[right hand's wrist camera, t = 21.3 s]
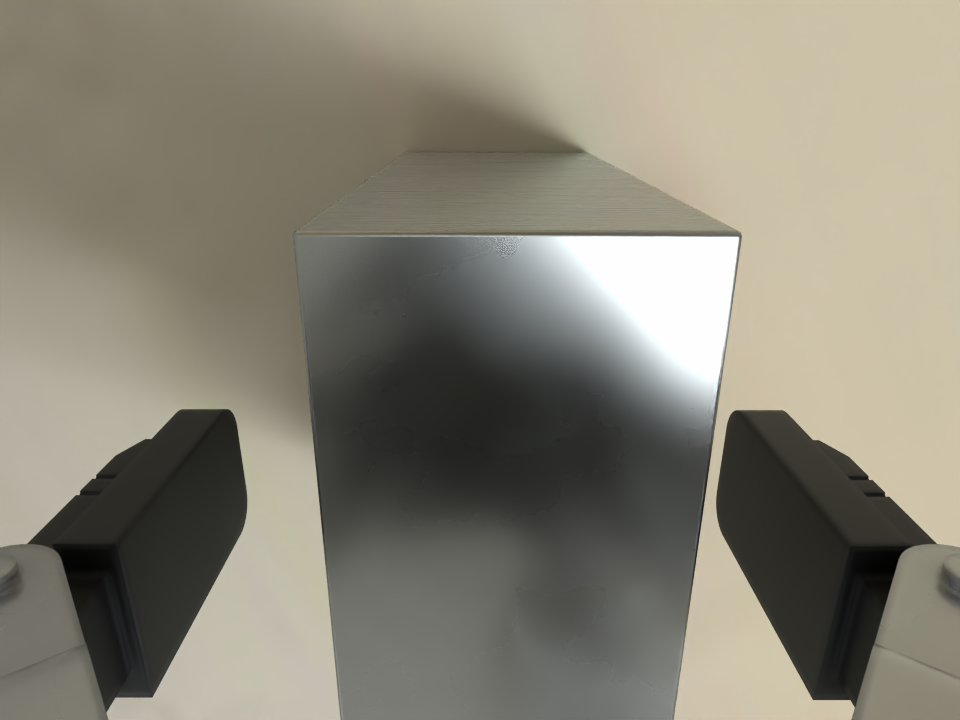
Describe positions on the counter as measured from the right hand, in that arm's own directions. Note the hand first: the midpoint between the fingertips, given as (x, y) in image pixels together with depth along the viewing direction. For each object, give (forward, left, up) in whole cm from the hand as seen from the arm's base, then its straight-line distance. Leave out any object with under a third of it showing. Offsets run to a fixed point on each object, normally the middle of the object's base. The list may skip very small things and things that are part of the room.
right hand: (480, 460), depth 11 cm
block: (0, 0, -7) cm, 7 cm away
